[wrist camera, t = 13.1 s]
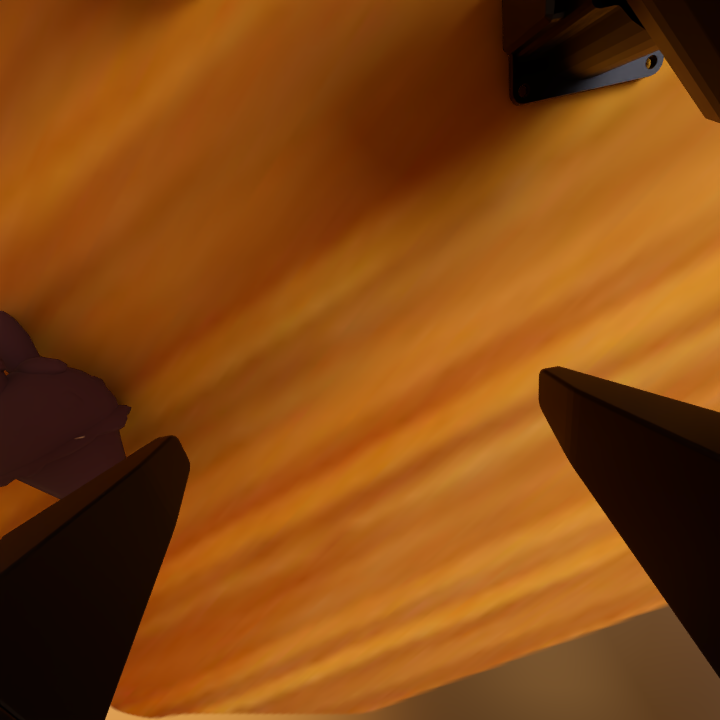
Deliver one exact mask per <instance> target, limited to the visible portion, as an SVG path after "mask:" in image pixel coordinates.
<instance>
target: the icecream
mask: <svg viewBox="0 0 720 720" xmlns="http://www.w3.org/2000/svg"><path fill="white" fill-rule="evenodd" d="M4 370H5V371H7V372H8V373H9V374H8V375H5V373H4V372H3V371H4ZM130 410H131V407H129V406H127V405H118V403H117V400H116V398H115V396H114V395H113V394H112V393H111V392H110V391H109V390H108V389H107V387H106V386H105V384H104V382H103V380H102V379H99V378H97V377H95V376H91V375H89V374H87V373H85V372H83V371H81V370H77V369H73V368H69V367H67V364H65V363H64V362H62V361H60V360H58V359H51V358H45V357H40V356H39V354H38V352H37V350H36V348H35V346H34V344H33V342H32V341H31V339H30V337H29V335H28V334H27V332H26V331H25V330H24V329H23V328H22V327H21V326H20V325H19V323H18V322H17V321H16V320H15V319H14V318H13V317H11V316H10V315H8V314H7V313H5V312H4V311H0V487H3V486H6V485H8V484H9V483H10V482H12V481H13V480H15V479H17V480H19V481H21V482H24V483H26V484H28V485H30V486H32V487H35V488H37V489H39V490H41V491H43V492H45V493H48V494H50V495H52V496H54V497H56V498H58V499H62V498H64V497H66V496H67V495H69V494H70V493H72V492H73V491H75V490H77V489H78V488H80V487H81V486H83V485H84V484H86V483H88V482H89V481H91V480H92V479H94V478H95V477H97V476H99V475H100V474H102V473H103V472H105V471H106V470H108V469H109V468H111V467H113V466H114V465H116V464H117V463H119V462H120V461H122V460H124V459H125V458H126V456H125V452H124V449H123V445H122V441H121V437H120V433H119V430H120V429H121V428H123V427H124V426H125V423H126V421H127V415H128V414H129V412H130Z"/></svg>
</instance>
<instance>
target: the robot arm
mask: <svg viewBox="0 0 720 720" xmlns="http://www.w3.org/2000/svg"><path fill="white" fill-rule="evenodd" d="M502 22H503V50H504V52H505V53H506V54H507V55H509V91H510V100H511V101H512V103H513V104H515V105H525V104H529V103H534V102H538V101H543V100H547V99H552V98H556V97H561V96H565V95H570V94H574V93H579V92H583V91H588V90H592V89H597V88H601V87H606V86H610V85H615V84H619V83H624V82H629V81H633V80H638V79H642V78H645V77H648V76H651V75H653V74H655V73H656V72H657V71H658V70H659V69H660V67H661V65H662V62H663V58H664V57H665V59H666V60H667V62H668V63H669V65H670V66H671V68H672V69H673V71H674V72H675V74H676V75H677V77H678V78H679V80H680V81H681V83H682V84H683V86H684V87H685V89H686V90H687V92H688V93H689V95H690V96H691V98H692V99H693V100H694V102H695V103H696V105H697V106H698V108H699V109H700V111H701V112H702V114H703V115H704V117H705V118H706V119H709V120H712V121H715V122H718V123H720V0H502ZM648 58H649V59H650V60H651V65H650V67H649V69H647V68H646V65H645V63H646V60H647V59H648ZM520 86H524V87H525V88H526V95H525V96H524V97H521V96H520V95H519V88H520ZM539 404H540V408H541V410H542V412H543V414H544V416H545V417H546V419H547V421H548V423H549V425H550V427H551V429H552V431H553V432H554V434H555V436H556V438H557V440H558V442H559V444H560V446H561V447H562V449H563V451H564V453H565V455H566V456H567V458H568V460H569V462H570V463H571V465H572V466H573V468H574V469H575V471H576V472H577V474H578V475H579V477H580V478H581V479H582V481H583V482H584V484H585V485H586V487H587V488H588V489H589V491H590V492H591V494H592V495H593V497H594V498H595V500H596V501H597V502H598V504H599V505H600V507H601V508H602V510H603V511H604V513H605V514H606V515H607V517H608V518H609V520H610V521H611V523H612V524H613V525H614V527H615V528H616V530H617V531H618V533H619V534H620V536H621V537H622V538H623V540H624V541H625V543H626V544H627V546H628V547H629V549H630V550H631V551H632V553H633V554H634V556H635V557H636V559H637V560H638V561H639V563H640V564H641V566H642V567H643V569H644V570H645V572H646V573H647V574H648V576H649V577H650V579H651V580H652V582H653V583H654V585H655V586H656V587H657V589H658V590H659V592H660V593H661V595H662V596H663V597H664V599H665V600H666V602H667V603H668V605H669V606H670V608H671V609H672V610H673V612H674V613H675V615H676V616H677V617H678V619H679V621H680V622H681V623H682V625H683V626H684V628H685V629H686V631H687V632H688V633H689V635H690V636H691V638H692V639H693V641H694V642H695V644H696V645H697V646H698V648H699V649H700V651H701V652H702V654H703V655H704V657H705V658H706V659H707V661H708V662H709V664H710V665H711V666H712V668H713V669H714V671H715V672H716V674H717V675H718V677H719V678H720V412H716V411H713V410H709V409H706V408H703V407H699V406H696V405H692V404H689V403H685V402H682V401H678V400H675V399H671V398H668V397H664V396H661V395H657V394H654V393H650V392H647V391H643V390H640V389H636V388H633V387H629V386H626V385H623V384H619V383H616V382H612V381H609V380H605V379H602V378H598V377H595V376H591V375H588V374H584V373H581V372H577V371H574V370H570V369H567V368H563V367H560V366H557V367H551V368H545V369H542V370H541V371H540V374H539ZM189 471H190V462H189V459H188V457H187V455H186V453H185V451H184V449H183V447H182V445H181V443H180V441H179V439H178V438H177V437H176V436H173V435H171V436H165V437H159V438H157V439H155V440H153V441H152V442H150V443H149V444H147V445H146V446H144V447H142V448H141V449H139V450H138V451H136V452H135V453H133V454H131V455H130V456H128V457H127V458H125V459H124V460H122V461H120V462H119V463H117V464H116V465H114V466H113V467H111V468H109V469H108V470H106V471H105V472H103V473H102V474H100V475H99V476H97V477H95V478H94V479H92V480H91V481H89V482H88V483H86V484H84V485H83V486H81V487H80V488H78V489H77V490H75V491H73V492H72V493H70V494H69V495H67V496H66V497H64V498H62V499H61V500H59V501H58V502H56V503H55V504H53V505H51V506H50V507H48V508H47V509H45V510H44V511H42V512H41V513H39V514H37V515H36V516H34V517H33V518H31V519H30V520H28V521H26V522H25V523H23V524H22V525H20V526H19V527H17V528H15V529H14V530H12V531H11V532H9V533H8V534H6V535H4V536H3V537H2V539H1V540H0V720H105V718H106V715H107V713H108V710H109V707H110V704H111V702H112V699H113V696H114V694H115V691H116V688H117V685H118V683H119V680H120V677H121V674H122V672H123V669H124V666H125V663H126V661H127V658H128V655H129V652H130V650H131V647H132V644H133V641H134V639H135V636H136V633H137V631H138V628H139V625H140V622H141V620H142V617H143V614H144V611H145V609H146V606H147V603H148V600H149V598H150V595H151V592H152V589H153V587H154V584H155V581H156V578H157V576H158V573H159V570H160V567H161V565H162V562H163V559H164V557H165V554H166V551H167V548H168V546H169V543H170V540H171V537H172V535H173V532H174V529H175V526H176V522H177V519H178V515H179V511H180V507H181V503H182V499H183V495H184V491H185V487H186V483H187V479H188V475H189Z"/></svg>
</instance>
